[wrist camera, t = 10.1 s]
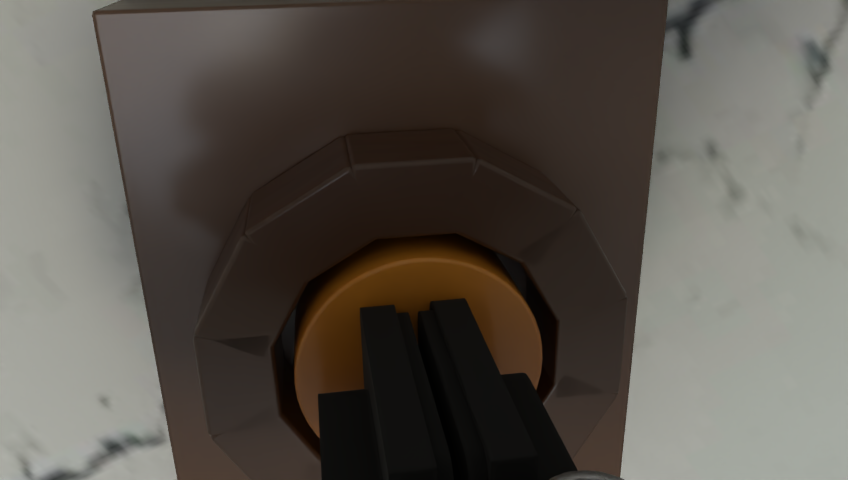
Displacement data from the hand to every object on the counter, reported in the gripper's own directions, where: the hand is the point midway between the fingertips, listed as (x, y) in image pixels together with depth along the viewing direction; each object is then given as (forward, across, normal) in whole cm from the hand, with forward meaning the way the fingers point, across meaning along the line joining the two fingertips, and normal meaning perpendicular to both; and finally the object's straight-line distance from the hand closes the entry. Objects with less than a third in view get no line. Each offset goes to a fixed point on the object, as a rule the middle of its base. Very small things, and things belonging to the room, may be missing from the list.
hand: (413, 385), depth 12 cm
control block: (+4, 0, 0) cm, 4 cm away
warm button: (+2, 0, 0) cm, 2 cm away
